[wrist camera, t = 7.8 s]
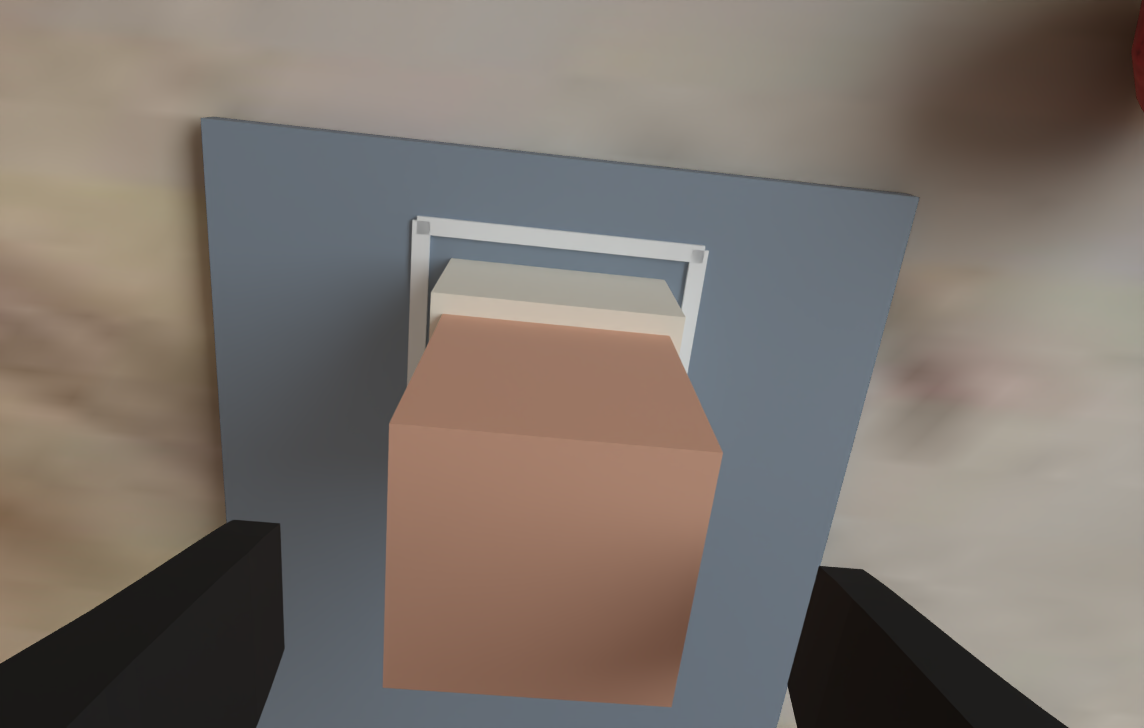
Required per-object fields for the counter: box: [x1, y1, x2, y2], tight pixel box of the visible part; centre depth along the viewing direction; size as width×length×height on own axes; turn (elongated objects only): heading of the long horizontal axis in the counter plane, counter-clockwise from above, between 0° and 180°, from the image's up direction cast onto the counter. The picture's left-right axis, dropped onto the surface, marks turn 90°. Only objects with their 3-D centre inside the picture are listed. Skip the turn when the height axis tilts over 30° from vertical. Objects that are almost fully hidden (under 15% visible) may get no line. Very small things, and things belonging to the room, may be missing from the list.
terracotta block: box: [383, 314, 723, 707], centre depth 13 cm, size 4×4×5 cm
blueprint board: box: [201, 117, 920, 728], centre depth 19 cm, size 20×16×4 cm
